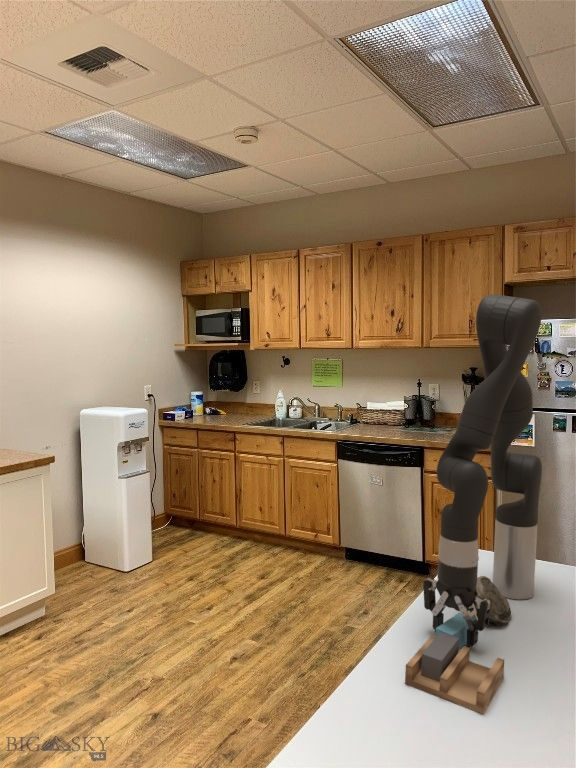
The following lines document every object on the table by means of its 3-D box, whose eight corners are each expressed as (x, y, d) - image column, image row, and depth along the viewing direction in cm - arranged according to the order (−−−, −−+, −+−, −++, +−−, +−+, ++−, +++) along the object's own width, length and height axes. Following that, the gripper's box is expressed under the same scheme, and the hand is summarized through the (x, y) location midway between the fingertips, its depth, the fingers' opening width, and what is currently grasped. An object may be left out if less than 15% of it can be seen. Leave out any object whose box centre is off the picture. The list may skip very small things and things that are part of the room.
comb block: (430, 652, 112) (431, 635, 112) (503, 678, 104) (504, 659, 104) (405, 683, 102) (405, 664, 102) (483, 714, 94) (484, 693, 94)
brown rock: (516, 630, 120) (494, 587, 120) (474, 644, 122) (452, 601, 122) (511, 604, 130) (490, 564, 130) (472, 618, 133) (452, 578, 133)
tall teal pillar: (458, 631, 121) (458, 612, 120) (474, 637, 118) (475, 619, 118) (434, 647, 114) (435, 628, 114) (451, 655, 112) (452, 635, 111)
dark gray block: (439, 652, 110) (440, 632, 110) (458, 658, 108) (459, 638, 108) (421, 675, 103) (421, 653, 103) (440, 682, 101) (441, 660, 101)
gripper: (415, 552, 117) (413, 632, 118) (483, 575, 106) (479, 661, 108) (435, 543, 122) (432, 619, 123) (501, 563, 112) (497, 646, 113)
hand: (454, 638), depth 116 cm, fingers open, 6 cm apart
